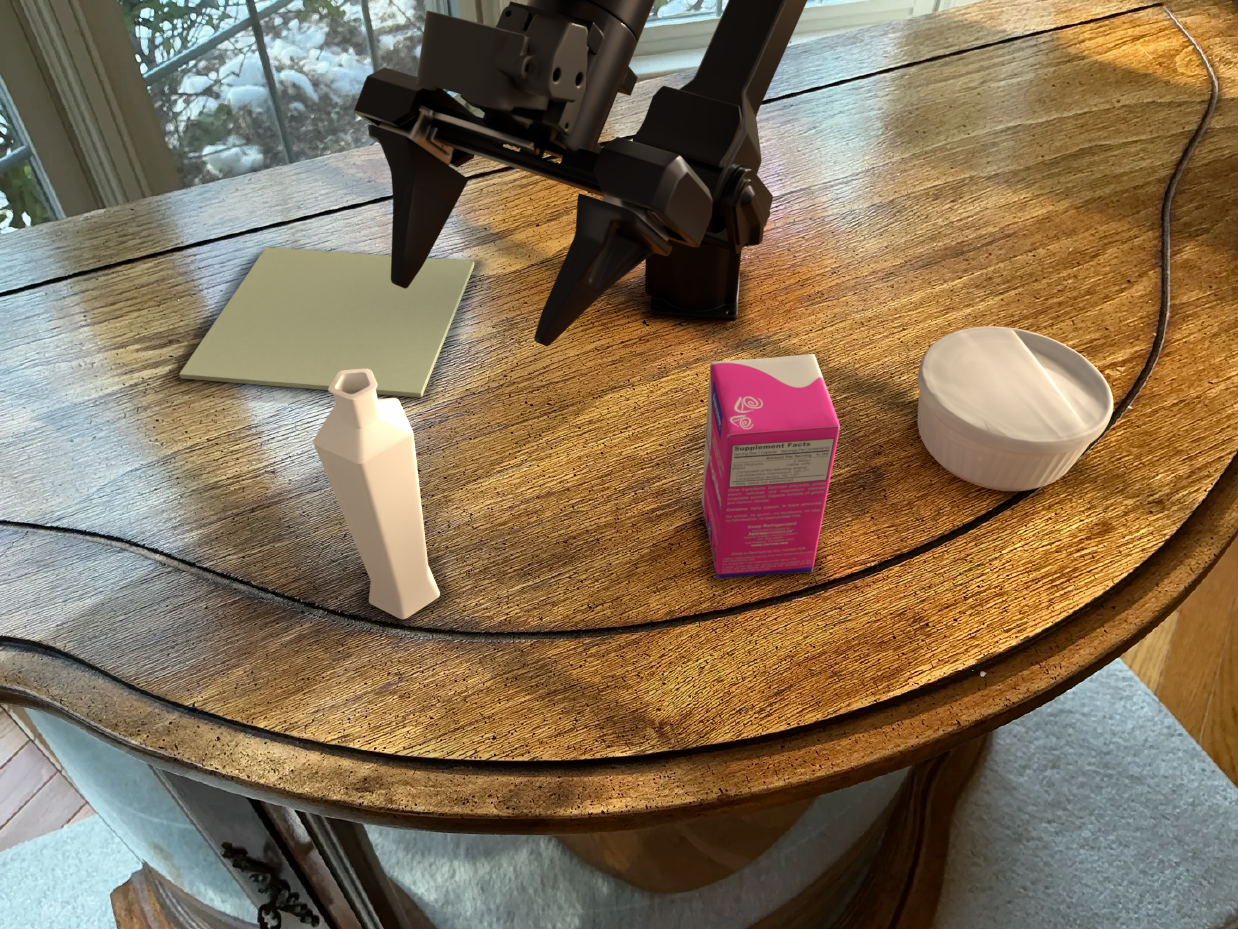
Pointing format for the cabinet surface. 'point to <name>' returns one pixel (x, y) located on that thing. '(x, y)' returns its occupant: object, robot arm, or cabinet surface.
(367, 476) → the beige vase
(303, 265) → the mat
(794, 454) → the supplement box
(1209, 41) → the cabinet surface
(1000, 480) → the ramekin
